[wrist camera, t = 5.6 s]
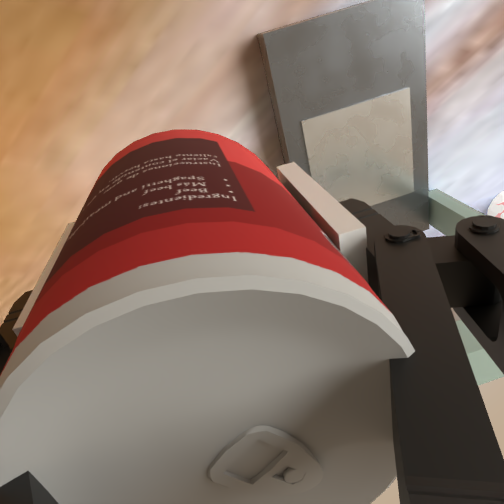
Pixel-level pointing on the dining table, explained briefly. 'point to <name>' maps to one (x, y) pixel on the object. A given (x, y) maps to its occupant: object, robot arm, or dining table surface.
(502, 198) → the beverage cup
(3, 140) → the dining table surface
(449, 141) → the dining table surface
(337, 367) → the canned food
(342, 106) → the plate
